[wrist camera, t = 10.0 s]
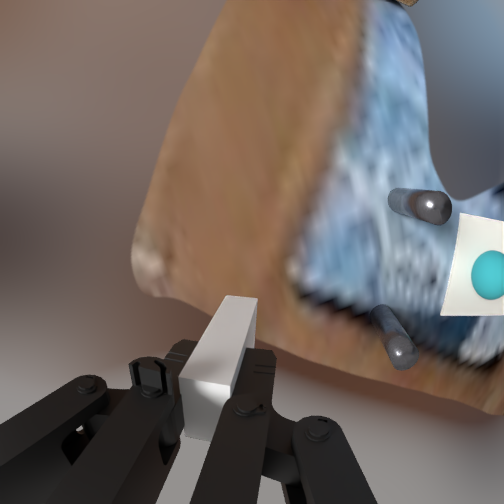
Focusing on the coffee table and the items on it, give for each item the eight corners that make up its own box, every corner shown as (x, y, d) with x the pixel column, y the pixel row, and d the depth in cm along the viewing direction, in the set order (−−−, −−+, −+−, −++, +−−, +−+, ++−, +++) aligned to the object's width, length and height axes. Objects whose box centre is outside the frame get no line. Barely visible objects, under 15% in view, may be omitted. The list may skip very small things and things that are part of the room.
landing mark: (524, 226, 25) (525, 226, 25) (505, 314, 28) (505, 315, 27) (460, 212, 26) (460, 212, 26) (440, 314, 29) (440, 315, 29)
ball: (509, 258, 20) (468, 245, 25) (496, 310, 22) (458, 294, 27) (522, 256, 22) (486, 244, 27) (511, 302, 23) (477, 288, 28)
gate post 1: (392, 305, 29) (422, 345, 21) (388, 325, 30) (414, 370, 21) (372, 304, 30) (397, 345, 21) (367, 324, 30) (389, 370, 22)
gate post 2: (410, 189, 27) (453, 193, 18) (408, 213, 27) (449, 227, 18) (388, 186, 27) (426, 188, 18) (386, 211, 27) (423, 223, 19)
